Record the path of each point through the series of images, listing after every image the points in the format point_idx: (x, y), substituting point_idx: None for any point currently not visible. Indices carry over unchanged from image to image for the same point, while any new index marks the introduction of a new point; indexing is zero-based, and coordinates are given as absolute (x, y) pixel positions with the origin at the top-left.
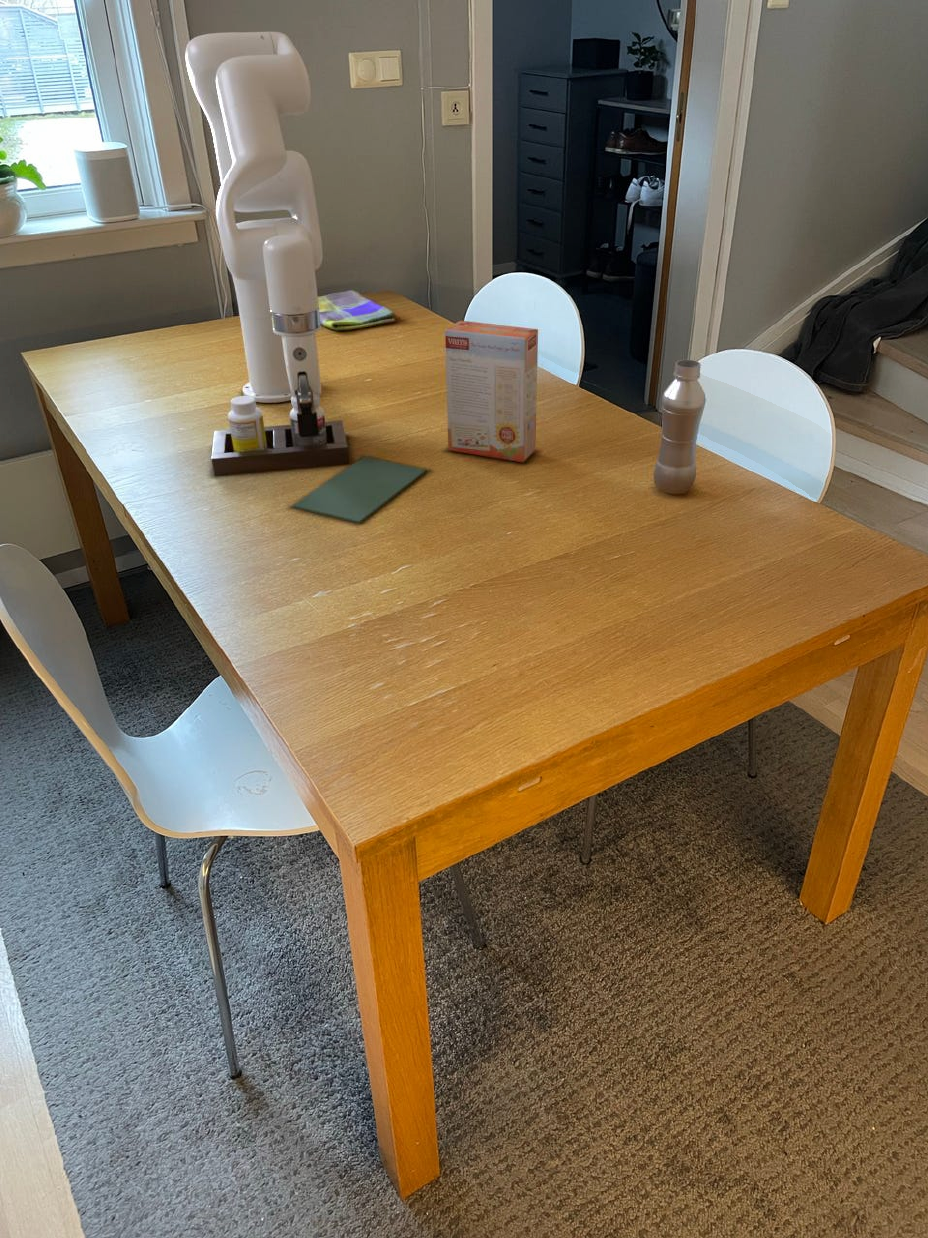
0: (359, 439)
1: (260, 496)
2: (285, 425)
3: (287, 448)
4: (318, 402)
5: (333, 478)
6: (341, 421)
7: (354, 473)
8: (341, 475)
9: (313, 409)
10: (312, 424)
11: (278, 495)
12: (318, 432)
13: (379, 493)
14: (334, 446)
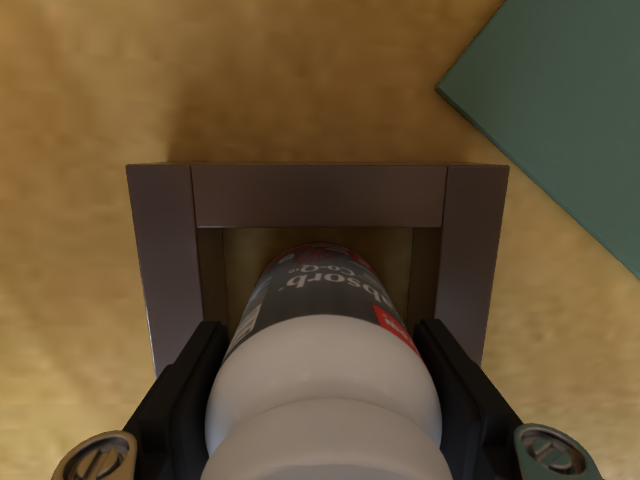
0: (213, 90)
1: (608, 449)
2: None
3: None
4: (398, 426)
5: (606, 235)
6: (145, 171)
7: (595, 149)
8: (593, 203)
9: (591, 475)
10: (496, 390)
11: (625, 404)
12: (443, 324)
13: None
14: (479, 230)
